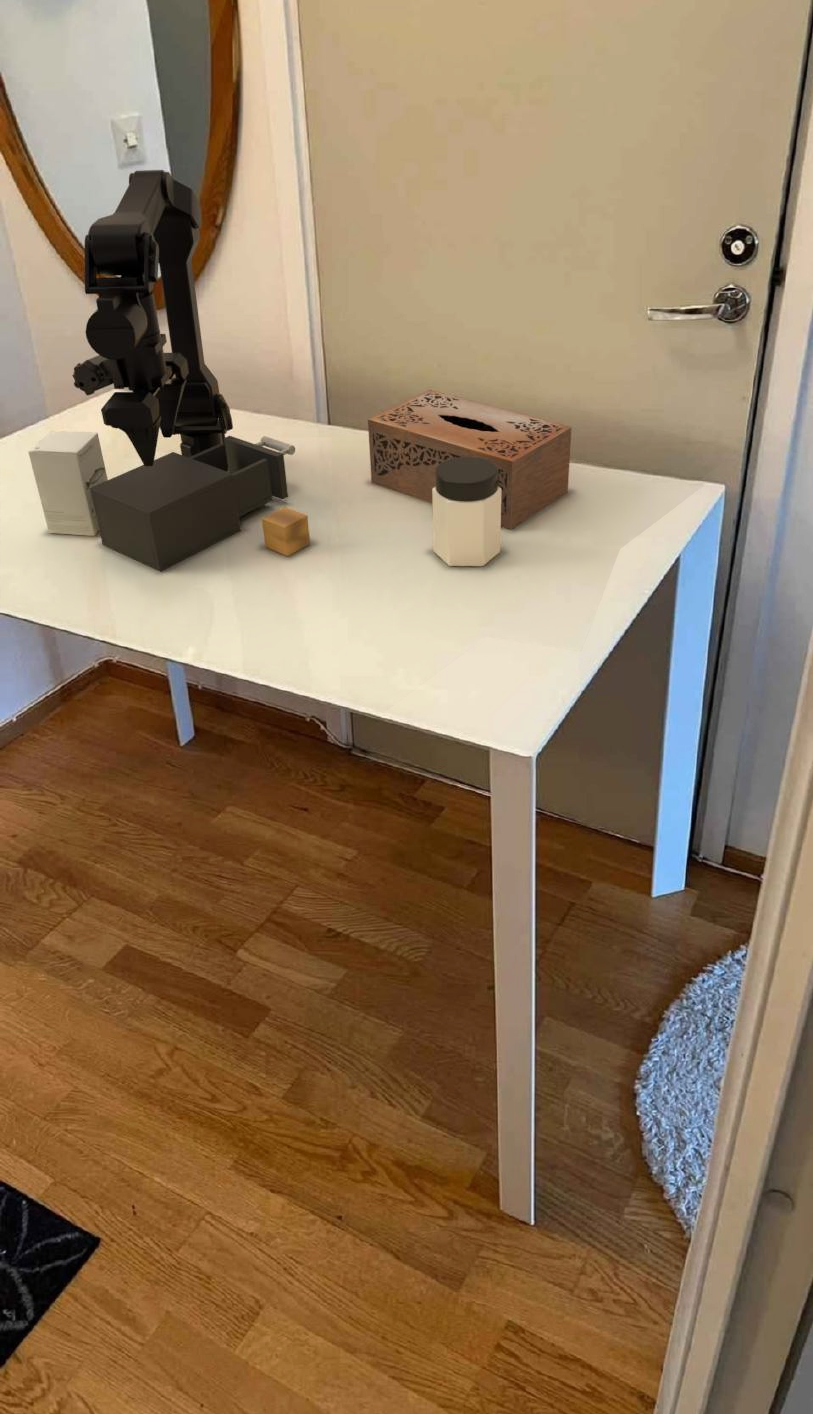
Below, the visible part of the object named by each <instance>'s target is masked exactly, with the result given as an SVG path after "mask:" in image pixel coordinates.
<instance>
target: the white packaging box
mask: <svg viewBox="0 0 813 1414" xmlns="http://www.w3.org/2000/svg"><path fill="white" fill-rule="evenodd" d="M27 452H28V456H29V461H30V464H31V467H32V472H33V476H34V480H35V484H36V488H37V491H38V495H39V499H40V504H41V507H42V511H43V516H44V519H45V523H46V526H47V529H48V530H47V531H48V533H49V534H59V535H60V534H61V535H73V536H74V535H76V536H89V537H92V536H96V534H97V533H98V532H99V531H100V530H99V526H98V522H97V517H96V513H95V509H94V505H93V500H92V496H91V492H90V488H91V487H94V486H96V485H98V484H101V483H103V482H105V481H107V480H109V479H108V474H107V470H106V469H107V468H106V464H105V460H104V456H103V451H102V447H101V442H100V437H99V433H98V432H94V431H93V432H92V431H69V430H68V431H67V430H51V431H50V432H48V433H47V434H46V435H45V436H44V437H43V438H42V439H41V440H39V441H38V442H37V443H36V444H35V445H34V446H32V447H31V448H30V449H29V450H28V451H27Z"/></svg>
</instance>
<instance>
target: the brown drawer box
mask: <svg viewBox="0 0 813 1414" xmlns="http://www.w3.org/2000/svg"><path fill="white" fill-rule="evenodd" d="M90 492H91V496H92V500H93V505H94V509H95V513H96V517H97V522H98V526H99V530H98V531H99V533H100V538H101V543H102V545H103V546H105V547H107V548H109V549H110V550H113V551H115V552H117V553H119V554H122V555H123V556H125V557H128V558H130V559H132V560H135V561H137V562H139V563H141V564H143V565H146V566H147V567H150V568H152V569H155V570H156V571H159V572H162V571H164V570H166V569H168V568H171V567H172V566H174V565H176V564H178V563H180V562H182V561H184V560H186V559H187V558H189V557H191V556H193V555H195V554H197V553H199V552H201V551H203V550H205V549H206V548H209V547H211V546H213V545H215V544H216V543H219V542H221V541H222V540H225V539H226V538H228V537H230V536H232V535H234V534H236V533H238V532H240V531H241V530H242V528H241V522H240V521H241V519H240V517H239V513H238V506H237V499H236V492H235V486H234V479H233V474H232V473H229V471H228V472H226V471H224V470H221V469H218V468H216V467H213V466H210V465H207V464H205V463H202V462H199V461H196V460H194V459H191V458H188V457H186V456H183V455H182V454H181V453H177V452H174V451H172V452H170V453H167V454H165V455H163V456H160V457H158V458H156V459H154V463H153V466H144V464H142V465H139V466H137V467H135V468H132V469H131V470H128V471H126V472H123V473H121V474H119V475H117V476H114V477H112V478H110V479H108V480H107V481H105V482H103V483H101V484H98V485H96V486H94V487H91V488H90Z"/></svg>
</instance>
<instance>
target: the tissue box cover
mask: <svg viewBox="0 0 813 1414" xmlns="http://www.w3.org/2000/svg"><path fill="white" fill-rule="evenodd" d="M367 427H368V429H367V431H368V445H369V462H370V464H369V465H370V479H371V480H370V481H371V484H374V485H377V486H380V487H383V488H385V489H389V490H392V491H395V492H398V493H400V494H404V495H406V496H410V497H413V498H416V499H419V500H422V501H425V502H428V503H431V504H432V489H433V488H434V487H435V470H436V468H437V466H438V465H439V464H440V463H442V462H444V461H446V460H449V459H453V458H458V457H477V458H482V459H486V460H489V461H491V462H493V463H494V464H495V465H496V466H497V467H498V474H499V484H498V486H499V487H500V488H501V490H502V491H501V528H502V527H503V528H506V529H508V530H512V529H514V528H516V527H517V526H518V525H519V524H520V525H521V523H523V522H524V521H526V520H527V519H529V518H531V517H532V516H533V515H535V514H537V513H538V512H540V511H541V510H543V509H544V508H546V507H548V506H549V505H550V504H552V503H553V502H555V501H557V500H558V499H560V498H561V497H562V496H564V495H566V494H567V493H568V492H569V477H570V475H569V474H570V460H571V445H572V428H573V427H572V426H569V425H565V424H561V423H557V422H553V421H550V420H546V419H542V418H539V417H535V416H531V415H527V414H523V413H519V412H515V411H512V410H508V409H505V408H501V407H497V406H493V405H489V404H487V403H481V402H478V401H474V400H470V399H467V398H462V397H459V396H455V395H451V394H447V393H444V392H440V391H436V390H433V389H428V390H426V391H424V392H422V393H420V394H418V395H415V396H412V398H409V399H406V400H405V401H403V402H401V403H399V404H397V405H395V406H393V407H391V408H388V409H386V410H384V411H382V412H379V413H378V414H376V415H374V416H372V417H370V418H368V419H367Z"/></svg>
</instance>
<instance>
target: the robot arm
mask: <svg viewBox="0 0 813 1414" xmlns="http://www.w3.org/2000/svg"><path fill="white" fill-rule="evenodd" d="M202 225H203V215H202V207H201V203H200V201H199V199H198V198H197V196H196V193H194V190H193V189H192V188H191V187H189V186H187V185H185V184H183V183H182V182H179V181H177V180H175V179H174V178H173V176H172V174H171V173H170V172H169V171H165V170H164V169H142V170H135V171H134V172H130V173H129V176H128V186H127V188H126V190H125V192H124V193H123V196H122V198H121V199H120V200H119V203H118V205H117V207H116V208H115V210H114V213H112V214H110V215H106V216H103V217H100V218H97V220H95V221H94V222H92V224H91V225H90V227H89V229H88V232H87V234H86V235H85V237H84V293H85V295H98V297H97V298H96V299H95V302H96V307H97V309H95V311H94V312H93V313H92V314H91V315H90V317H89V318H88V320H87V322H86V326H85V338H86V341H87V343H88V345H89V346H90V348H91V349H92V350H93V351H94V352H95V353H96V354H98V355H96V356H93V357H91V358H89V359H85V360H84V361H83V362H81V363H80V362H79V363H77V364H76V365H75V366H74V367H73V374H72V378H73V381H74V382H73V385H74V387H75V388H76V389H79V390H80V391H82V392H83V393H84V394H85V396H91V395H94V394H95V392H96V391H99V390H101V389H104V388H107V387H109V386H111V385H113V388H114V390H124V389H125V388H127V389H128V391H114V392H113V394H112V395H111V396H110V398H108V400H107V401H106V402H105V403H104V405H103V406H102V407H101V409H100V412H101V417H102V422H103V424H104V425H105V426H107V427H109V426H110V427H111V428H113V429H119V430H121V431H122V432H123V433H125V435H126V437H128V439H129V441H130V442H131V444H132V446H133V448H134V450H135V451H136V453H137V455H138V457H139V459H140V461H141V462H142V465H144V466H153V463H154V460H155V457H156V452H157V446H158V439H159V435H160V433H159V432H161V434H162V437H163V438H166V439H167V438H172V436H176V435H180V442H181V443H180V444H179V448H180V455H183V456H186V457H188V458H189V457H191V456H193V455H196V454H198V453H200V452H202V451H205V450H207V449H209V448H211V447H214V446H216V445H218V444H224V448H225V442H224V438H225V437H226V434H227V432H229V431H231V430H233V429H234V425H233V424H234V423H233V418H232V414H231V408H230V406H229V405H228V403H227V401H226V399H225V397H224V396H223V394H222V393H220V388H219V381H218V378H217V377H216V376H215V375H214V374H213V373H212V371H211V370H210V369H209V367H208V366H207V365H206V362H205V356H204V348H203V347H204V346H203V341H202V332H201V324H200V316H199V309H198V300H197V292H196V284H195V277H194V276H195V275H194V269H193V268H194V267H193V260H192V259H193V257H194V254H195V252H196V249H197V247H198V244H199V242H200V240H201V232H200V229H202ZM159 271H160V278H161V285H162V292H163V293H162V294H163V299H164V300H163V301H164V307H165V314H166V321H167V328H168V335H169V342H170V348H171V352H164V346H165V345H166V343H167V341H168V340H167V336H166V333H161V329H160V323H159V317H158V312H157V306H156V300H155V294H154V287H155V283H158V278H159V277H158V276H159ZM98 276H99V277H98ZM225 455H226V448H225ZM226 462H227V455H226ZM227 468H228V462H227Z"/></svg>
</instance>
